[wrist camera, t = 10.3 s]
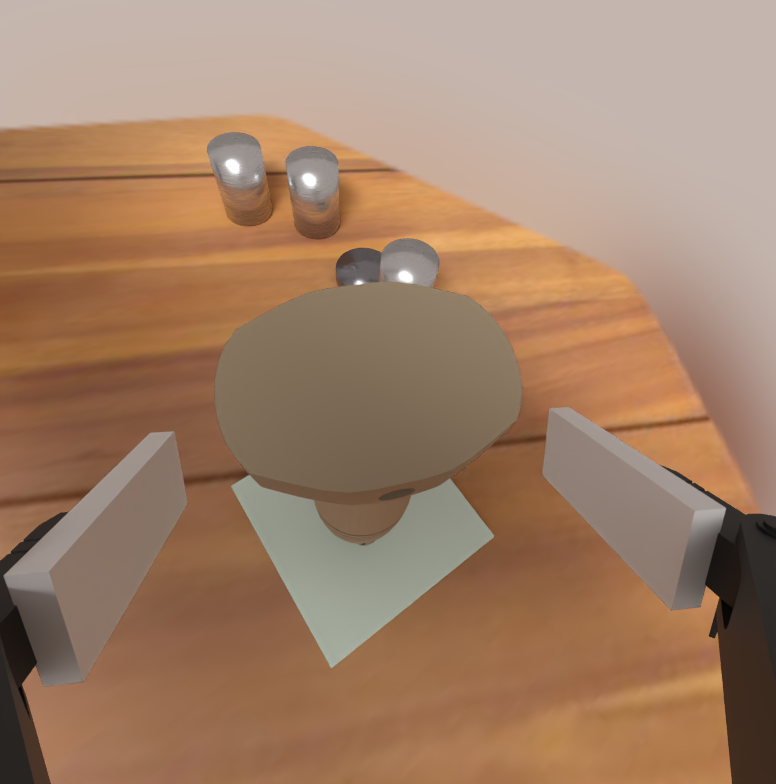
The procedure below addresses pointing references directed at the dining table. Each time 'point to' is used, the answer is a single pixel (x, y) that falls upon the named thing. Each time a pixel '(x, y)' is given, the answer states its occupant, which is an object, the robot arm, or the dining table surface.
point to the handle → (365, 398)
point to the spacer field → (305, 201)
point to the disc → (358, 267)
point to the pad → (361, 559)
